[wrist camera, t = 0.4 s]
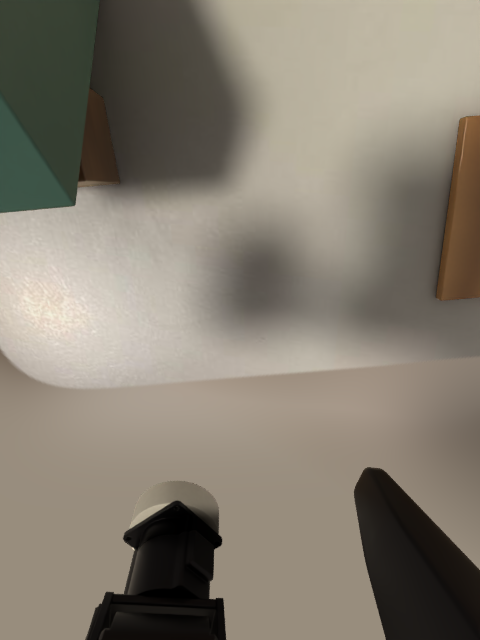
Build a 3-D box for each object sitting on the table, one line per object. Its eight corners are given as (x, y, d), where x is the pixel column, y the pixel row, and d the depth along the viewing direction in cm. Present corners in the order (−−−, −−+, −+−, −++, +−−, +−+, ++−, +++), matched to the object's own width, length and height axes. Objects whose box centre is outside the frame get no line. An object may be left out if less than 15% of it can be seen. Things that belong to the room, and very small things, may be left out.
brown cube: (120, 183, 19) (86, 181, 14) (46, 190, 18) (-14, 190, 14) (103, 97, 17) (59, 63, 12) (23, 104, 17) (-52, 72, 12)
